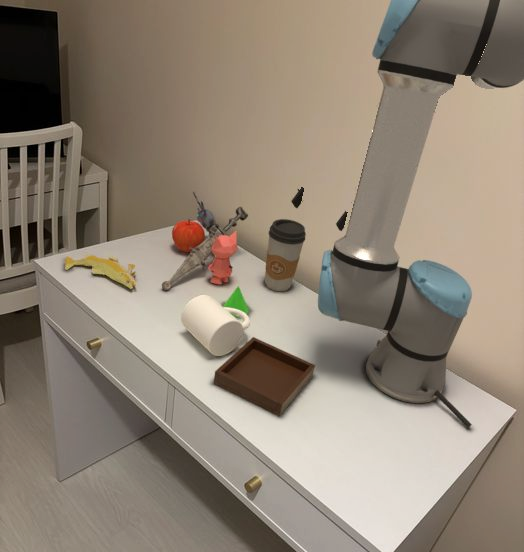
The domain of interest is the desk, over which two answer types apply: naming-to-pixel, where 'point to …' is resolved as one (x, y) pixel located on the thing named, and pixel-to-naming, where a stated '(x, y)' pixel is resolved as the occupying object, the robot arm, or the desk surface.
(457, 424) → the desk surface
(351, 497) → the desk surface
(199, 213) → the toy
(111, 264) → the toy
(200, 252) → the decorative dagger
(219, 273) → the cat figurine
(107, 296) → the desk surface
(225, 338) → the mug
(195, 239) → the apple
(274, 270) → the coffee cup
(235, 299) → the green pyramid
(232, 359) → the serving tray
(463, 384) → the desk surface
